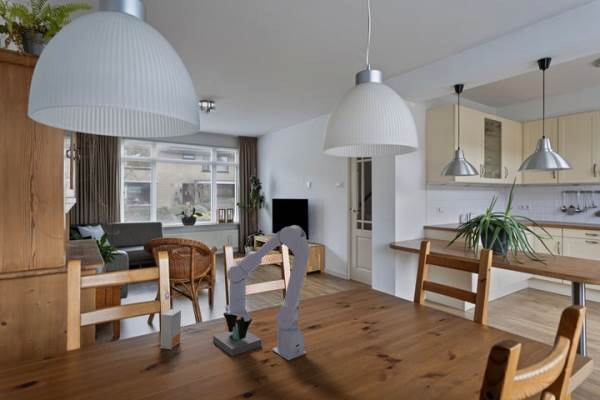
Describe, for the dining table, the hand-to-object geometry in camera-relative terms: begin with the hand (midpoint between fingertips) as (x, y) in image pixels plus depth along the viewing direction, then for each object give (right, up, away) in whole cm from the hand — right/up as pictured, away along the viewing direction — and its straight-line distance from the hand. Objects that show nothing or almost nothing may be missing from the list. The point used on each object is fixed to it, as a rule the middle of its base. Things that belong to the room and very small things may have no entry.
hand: (237, 334), depth 119 cm
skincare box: (-24, -3, -2) cm, 24 cm away
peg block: (0, -3, 0) cm, 3 cm away
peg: (0, -3, 0) cm, 3 cm away
